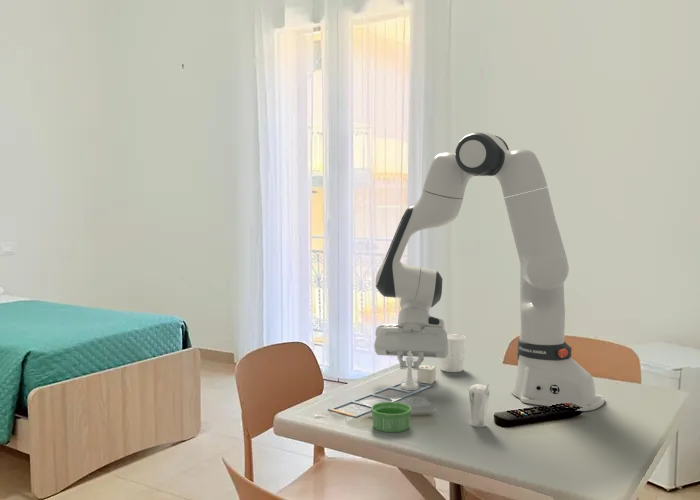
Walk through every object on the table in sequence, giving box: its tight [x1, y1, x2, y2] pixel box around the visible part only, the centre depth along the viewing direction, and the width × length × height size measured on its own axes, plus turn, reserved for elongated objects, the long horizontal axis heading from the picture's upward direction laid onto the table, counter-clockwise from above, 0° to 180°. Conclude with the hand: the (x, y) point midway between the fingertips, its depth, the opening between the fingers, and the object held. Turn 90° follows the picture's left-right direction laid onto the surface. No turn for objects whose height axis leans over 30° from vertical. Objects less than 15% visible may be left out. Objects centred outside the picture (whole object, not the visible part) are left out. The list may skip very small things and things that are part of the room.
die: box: [416, 364, 437, 385], centre depth 182 cm, size 4×4×4 cm
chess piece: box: [399, 351, 420, 391], centre depth 175 cm, size 5×5×10 cm
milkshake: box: [468, 383, 490, 428], centre depth 145 cm, size 4×5×10 cm
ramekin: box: [370, 401, 412, 433], centre depth 145 cm, size 9×9×4 cm
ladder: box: [327, 379, 433, 418], centre depth 166 cm, size 9×33×1 cm, turn 141°
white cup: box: [439, 333, 466, 373], centre depth 194 cm, size 8×8×10 cm
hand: (409, 368), depth 175 cm, fingers closed on chess piece, 2 cm apart
